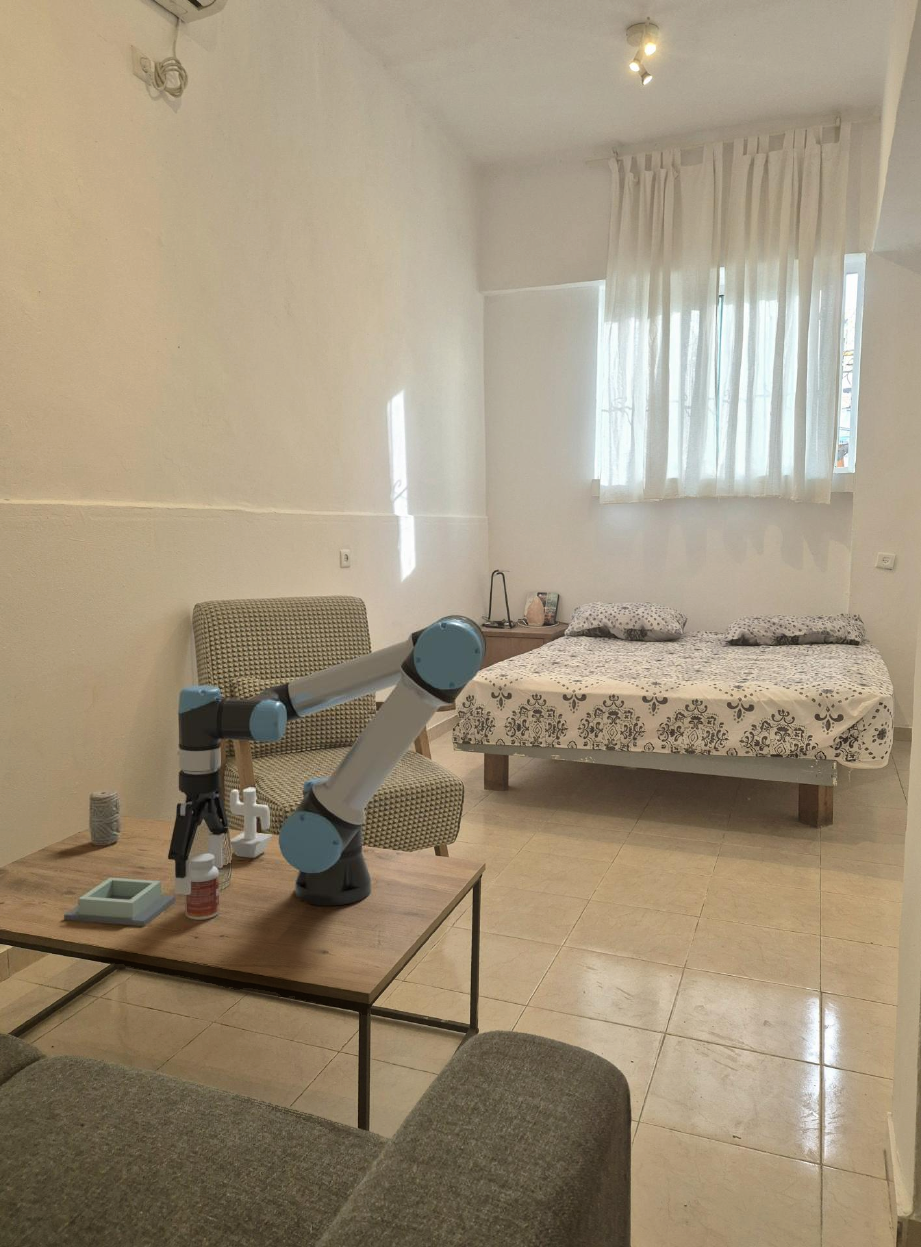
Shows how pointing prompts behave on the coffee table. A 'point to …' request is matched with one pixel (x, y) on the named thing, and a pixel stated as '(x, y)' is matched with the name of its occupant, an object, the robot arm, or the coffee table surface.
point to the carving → (104, 817)
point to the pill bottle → (203, 888)
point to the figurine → (250, 824)
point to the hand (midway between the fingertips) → (199, 879)
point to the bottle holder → (121, 902)
